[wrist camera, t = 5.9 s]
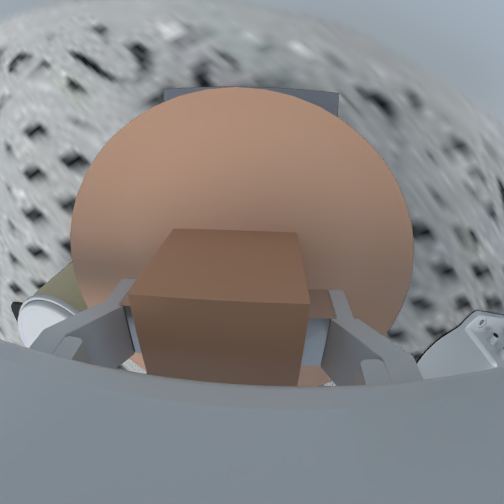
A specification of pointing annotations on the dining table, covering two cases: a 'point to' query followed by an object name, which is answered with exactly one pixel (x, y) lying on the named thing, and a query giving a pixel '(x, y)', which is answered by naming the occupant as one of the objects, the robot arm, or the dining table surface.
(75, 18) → the dining table surface
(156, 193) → the lid
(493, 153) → the dining table surface
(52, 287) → the coffee cup
